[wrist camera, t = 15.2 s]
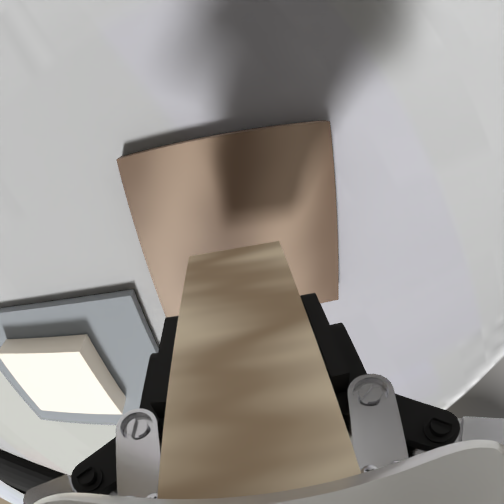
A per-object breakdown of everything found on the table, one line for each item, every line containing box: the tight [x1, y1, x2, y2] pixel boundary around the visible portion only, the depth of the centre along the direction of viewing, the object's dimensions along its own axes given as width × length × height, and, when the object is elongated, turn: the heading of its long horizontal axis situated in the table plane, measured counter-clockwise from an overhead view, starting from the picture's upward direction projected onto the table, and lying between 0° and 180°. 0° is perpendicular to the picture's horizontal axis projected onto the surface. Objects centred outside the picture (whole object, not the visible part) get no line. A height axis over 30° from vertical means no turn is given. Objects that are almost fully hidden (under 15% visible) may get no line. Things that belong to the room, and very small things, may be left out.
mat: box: [0, 289, 159, 425], centre depth 24 cm, size 20×16×1 cm
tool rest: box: [117, 120, 338, 317], centre depth 19 cm, size 12×12×1 cm
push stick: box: [157, 241, 361, 499], centre depth 10 cm, size 4×4×11 cm
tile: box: [0, 334, 126, 414], centre depth 23 cm, size 10×2×8 cm
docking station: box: [0, 450, 64, 494], centre depth 40 cm, size 25×41×5 cm, turn 76°
